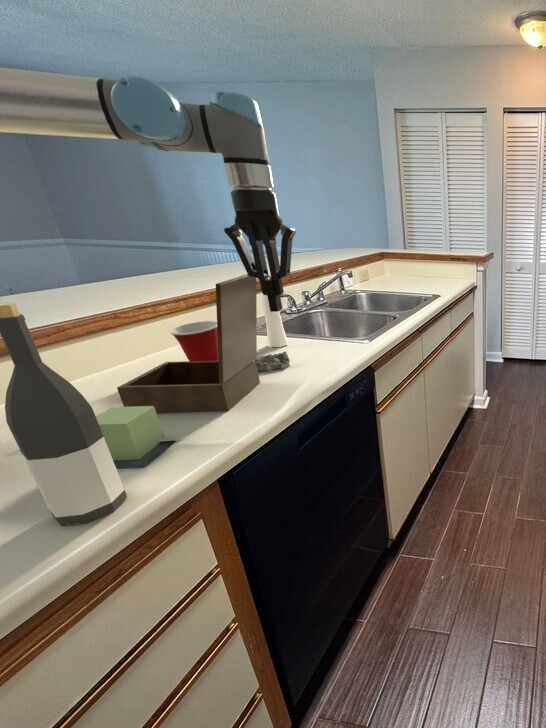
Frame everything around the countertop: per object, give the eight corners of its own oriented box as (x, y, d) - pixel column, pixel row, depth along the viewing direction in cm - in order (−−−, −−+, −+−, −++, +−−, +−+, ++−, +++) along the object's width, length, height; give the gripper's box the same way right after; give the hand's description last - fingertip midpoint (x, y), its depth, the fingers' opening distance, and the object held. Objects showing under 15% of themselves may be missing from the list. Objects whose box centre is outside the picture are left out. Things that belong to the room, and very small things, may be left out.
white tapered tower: (291, 345, 135) (278, 275, 127) (270, 349, 132) (256, 277, 123) (285, 341, 139) (272, 273, 131) (265, 344, 136) (250, 274, 127)
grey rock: (246, 377, 110) (242, 363, 108) (246, 368, 115) (243, 354, 114) (291, 371, 114) (289, 356, 113) (289, 362, 120) (287, 349, 119)
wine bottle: (84, 530, 57) (-16, 313, 46) (36, 522, 59) (-73, 309, 47) (142, 494, 65) (68, 299, 53) (98, 487, 66) (17, 296, 55)
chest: (127, 418, 88) (116, 387, 85) (174, 388, 102) (166, 361, 99) (229, 414, 90) (221, 385, 87) (261, 386, 104) (255, 360, 102)
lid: (215, 283, 80) (220, 284, 80) (252, 272, 94) (256, 273, 94) (219, 382, 87) (223, 383, 87) (253, 358, 101) (256, 358, 102)
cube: (94, 461, 72) (79, 425, 69) (124, 440, 78) (111, 407, 76) (139, 459, 73) (126, 423, 70) (165, 439, 79) (154, 405, 77)
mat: (72, 470, 70) (71, 468, 70) (120, 437, 80) (120, 435, 80) (144, 467, 71) (143, 465, 71) (183, 435, 81) (182, 433, 81)
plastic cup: (177, 368, 115) (164, 325, 110) (222, 359, 122) (212, 318, 117) (187, 378, 108) (173, 333, 103) (234, 368, 115) (224, 325, 111)
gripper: (294, 191, 86) (313, 306, 95) (226, 189, 84) (252, 306, 93) (280, 189, 79) (302, 313, 88) (205, 187, 77) (235, 314, 86)
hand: (276, 310), depth 90 cm, fingers closed
